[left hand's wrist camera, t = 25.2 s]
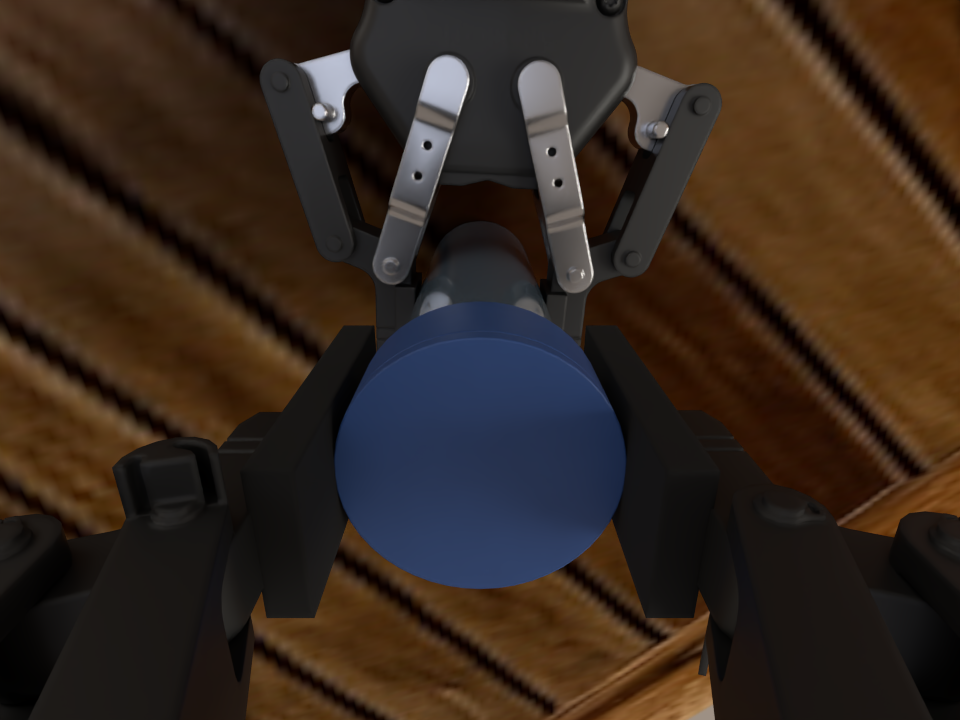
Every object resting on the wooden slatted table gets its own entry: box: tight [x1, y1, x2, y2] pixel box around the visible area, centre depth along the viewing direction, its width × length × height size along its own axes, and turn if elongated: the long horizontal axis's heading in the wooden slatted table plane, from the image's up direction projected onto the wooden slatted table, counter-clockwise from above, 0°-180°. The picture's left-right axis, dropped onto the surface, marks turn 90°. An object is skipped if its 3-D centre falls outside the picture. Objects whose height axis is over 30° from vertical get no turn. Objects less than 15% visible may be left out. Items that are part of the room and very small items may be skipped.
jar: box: [408, 221, 553, 323], centre depth 18 cm, size 4×4×16 cm
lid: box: [334, 301, 627, 589], centre depth 11 cm, size 5×5×2 cm
